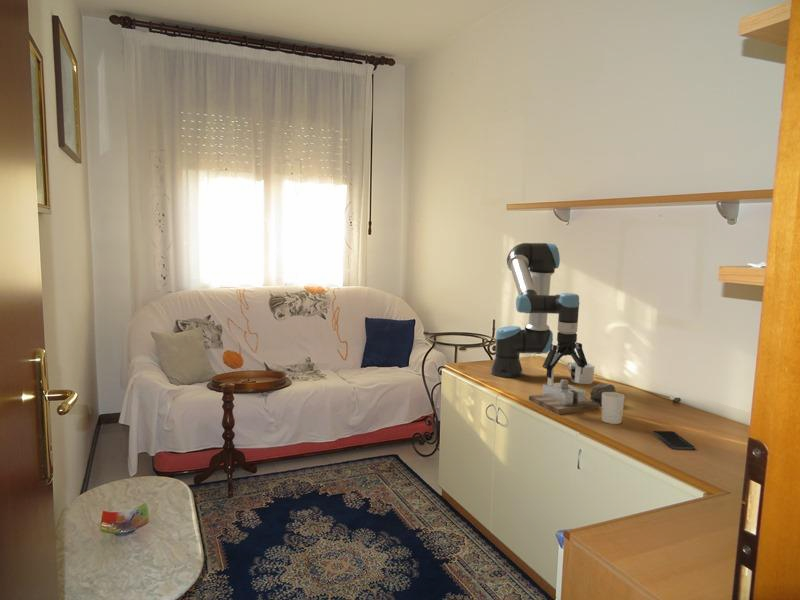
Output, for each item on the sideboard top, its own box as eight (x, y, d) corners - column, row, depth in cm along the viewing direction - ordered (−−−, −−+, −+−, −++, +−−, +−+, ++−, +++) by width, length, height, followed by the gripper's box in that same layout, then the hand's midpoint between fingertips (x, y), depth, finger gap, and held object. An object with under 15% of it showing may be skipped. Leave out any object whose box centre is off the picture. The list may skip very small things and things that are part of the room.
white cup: (596, 420, 206) (597, 394, 205) (607, 416, 211) (608, 390, 210) (615, 426, 200) (617, 399, 199) (626, 421, 205) (628, 395, 204)
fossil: (587, 402, 226) (590, 379, 229) (590, 408, 233) (593, 385, 236) (615, 406, 220) (618, 382, 224) (618, 411, 228) (620, 388, 231)
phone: (671, 447, 179) (651, 430, 194) (671, 450, 179) (651, 433, 194) (696, 447, 179) (674, 431, 194) (696, 451, 179) (674, 434, 194)
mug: (597, 382, 261) (599, 365, 260) (585, 385, 254) (586, 368, 253) (573, 376, 271) (574, 360, 270) (560, 379, 265) (561, 362, 264)
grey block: (542, 396, 229) (543, 384, 228) (562, 393, 233) (562, 382, 232) (564, 405, 216) (565, 393, 216) (585, 403, 220) (585, 391, 219)
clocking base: (528, 400, 230) (529, 376, 228) (567, 395, 237) (569, 373, 236) (558, 414, 212) (559, 388, 211) (599, 409, 220) (600, 384, 219)
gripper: (547, 335, 213) (544, 389, 216) (598, 332, 222) (595, 383, 225) (535, 332, 220) (532, 384, 223) (585, 328, 229) (582, 378, 232)
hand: (564, 383), depth 224 cm, fingers open, 13 cm apart
